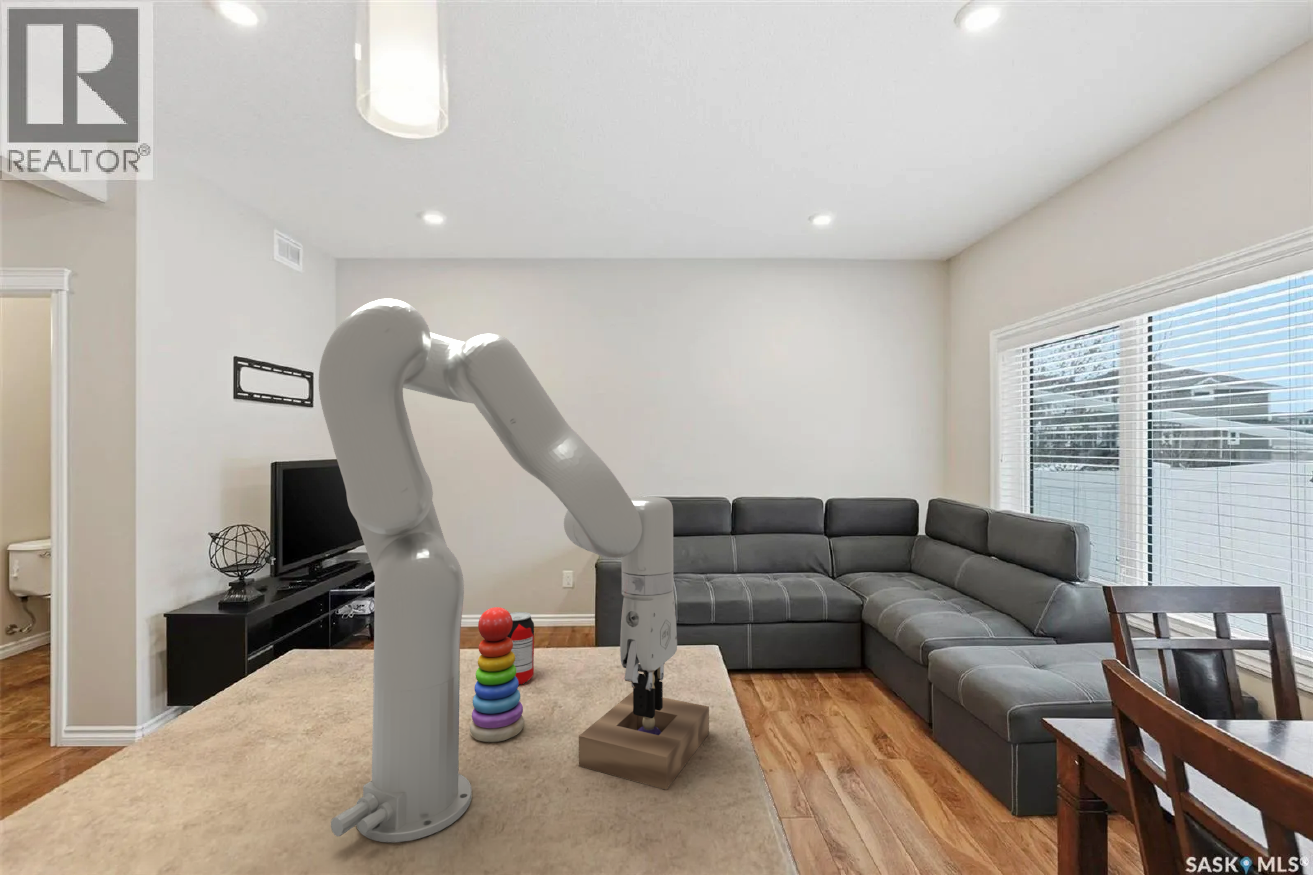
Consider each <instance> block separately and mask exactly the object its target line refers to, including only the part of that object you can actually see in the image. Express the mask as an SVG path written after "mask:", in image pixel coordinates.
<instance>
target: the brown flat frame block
mask: <svg viewBox="0 0 1313 875" xmlns="http://www.w3.org/2000/svg"><path fill="white" fill-rule="evenodd" d="M643 718H644V717H642V716H638V715H635V714H634V713H633V691H631V692H630V693H628V695H627V696H625V697H624V698H623V699H622V700H620V701H618V703H617V704H616V705H614V706H613V707H612V708H610V710H608V711H607V712H606V713H605V714H604V715H603V716H601V717H600V718H599V719H598V720H596V721H595V722H594V723H592V724H591V725H590V726H589V727H588V728H587V729H585V730H584V731H582V732H581V733H580V734H579V735H578V767H581V768H584V769H588V770H592V771H596V772H600V773H603V774H607V775H610V776H615V777H617V778H622V779H626V780H628V781H629V780H630V781H632V782H636V783H641V784H644V785H648V786H650V787H655V788H657V789H662V790H666V791H667V790H668V789H669V787H670V786H671V785H672V783H673V781H675V779H676V778H677V777H678V775H679V774H680V773H681V771H682V770H683V769H684V767H685V766H686V765H687V764H688V762H689V761H690V760H691V758H692V757H693V755H694V754H695V752H696V751H697V750H698V749H699V747H700V746H701V745H702V744H703V742H704V741H705V739H706V738H707V737H708V736H709V734H710V706H708V705H704V704H700V703H699V704H698V703H695V702H694V703H693V702H690V701H689V702H688V701H684V700H683V701H682V700H677V699H673V698H667V697H663V708H662V709H661V710H660V711H658V710H655V716H654V719H655V725H654V726H655V727H657V728H658V729H660V731H661V732H662V733H661V734H660V735H655V734H651V733H646V732H642V731H638V730H639V729H640V728H641V727H643Z"/></svg>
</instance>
